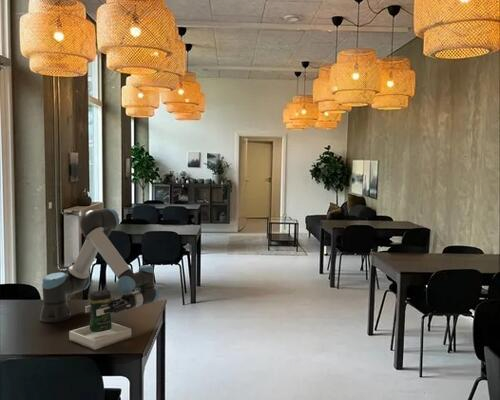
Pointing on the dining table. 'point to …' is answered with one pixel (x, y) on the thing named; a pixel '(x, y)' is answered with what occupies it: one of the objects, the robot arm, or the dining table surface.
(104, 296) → the coffee jar
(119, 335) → the tray
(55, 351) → the dining table surface
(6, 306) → the dining table surface
